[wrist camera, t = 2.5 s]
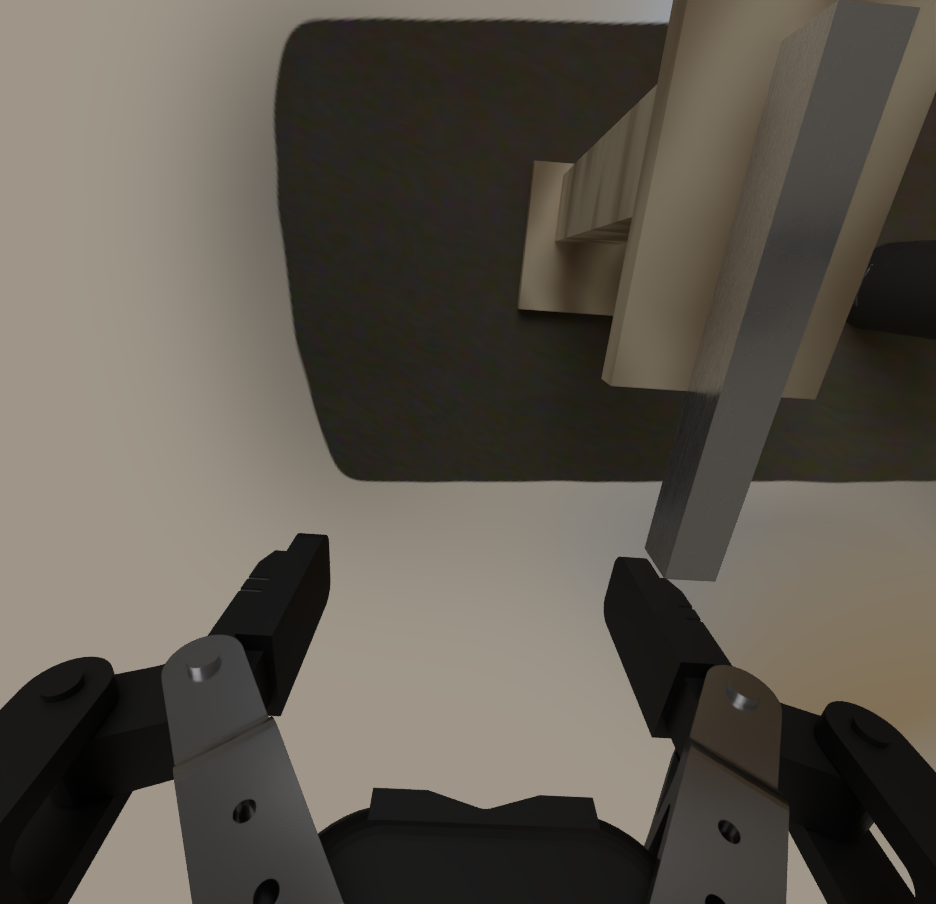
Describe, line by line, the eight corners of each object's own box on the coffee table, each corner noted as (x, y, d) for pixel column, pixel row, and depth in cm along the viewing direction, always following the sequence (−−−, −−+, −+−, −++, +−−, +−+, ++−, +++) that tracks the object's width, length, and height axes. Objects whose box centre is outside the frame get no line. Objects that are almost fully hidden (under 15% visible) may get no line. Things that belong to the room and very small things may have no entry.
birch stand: (650, 162, 44) (1021, -54, 15) (618, 324, 50) (835, 400, 21) (533, 152, 44) (674, -89, 14) (516, 316, 50) (589, 384, 21)
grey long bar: (851, 47, 16) (920, 7, 13) (690, 550, 24) (715, 581, 22) (781, 40, 16) (838, -1, 13) (644, 548, 24) (664, 578, 22)
